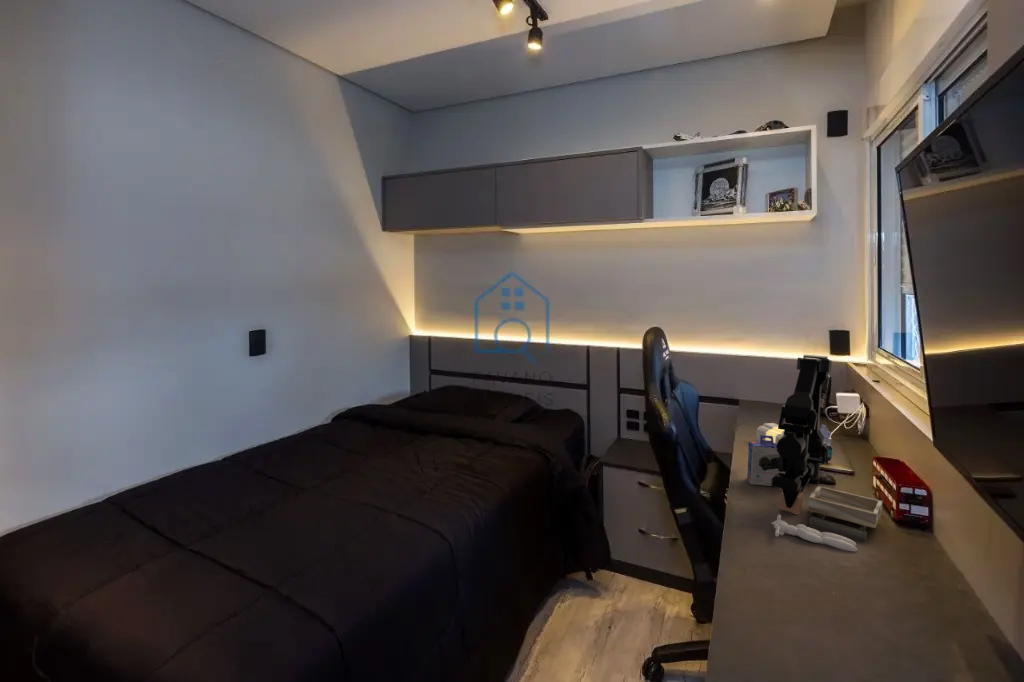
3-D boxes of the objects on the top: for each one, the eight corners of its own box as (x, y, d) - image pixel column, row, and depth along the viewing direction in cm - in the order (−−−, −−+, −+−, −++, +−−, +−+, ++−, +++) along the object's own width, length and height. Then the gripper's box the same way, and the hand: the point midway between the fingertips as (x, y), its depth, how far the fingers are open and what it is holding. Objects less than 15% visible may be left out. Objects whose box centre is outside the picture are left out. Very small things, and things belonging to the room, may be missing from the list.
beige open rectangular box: (817, 503, 146) (818, 485, 145) (880, 519, 136) (882, 500, 135) (807, 515, 138) (809, 497, 137) (874, 534, 128) (876, 514, 128)
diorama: (832, 464, 179) (835, 427, 178) (807, 466, 177) (810, 428, 175) (778, 442, 203) (781, 409, 202) (755, 444, 201) (757, 410, 199)
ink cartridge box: (779, 480, 163) (782, 435, 162) (785, 487, 158) (788, 440, 156) (745, 478, 165) (748, 433, 164) (749, 484, 160) (752, 438, 158)
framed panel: (832, 493, 154) (832, 486, 154) (881, 505, 146) (882, 498, 146) (808, 525, 134) (809, 518, 133) (865, 541, 126) (865, 533, 126)
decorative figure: (855, 532, 127) (774, 508, 136) (860, 555, 117) (771, 527, 125) (852, 545, 128) (771, 520, 136) (856, 569, 118) (768, 540, 126)
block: (784, 504, 146) (785, 488, 146) (802, 508, 144) (803, 493, 143) (779, 509, 143) (780, 493, 143) (798, 514, 140) (799, 498, 140)
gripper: (773, 435, 154) (770, 486, 155) (752, 450, 140) (749, 507, 142) (816, 443, 146) (812, 497, 148) (799, 460, 132) (794, 519, 134)
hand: (791, 504), depth 143 cm, fingers closed on block, 4 cm apart
